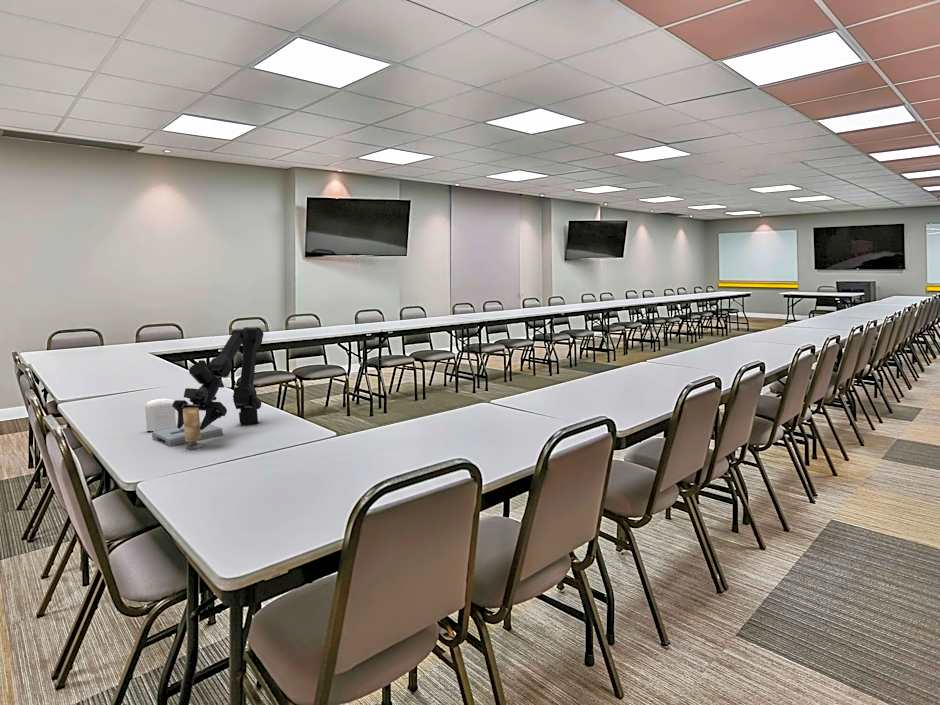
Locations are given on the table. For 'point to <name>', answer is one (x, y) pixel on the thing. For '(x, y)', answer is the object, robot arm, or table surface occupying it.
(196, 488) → the table surface
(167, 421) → the photo printer
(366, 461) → the table surface
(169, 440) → the keyhole plate
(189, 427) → the ribbed peg
